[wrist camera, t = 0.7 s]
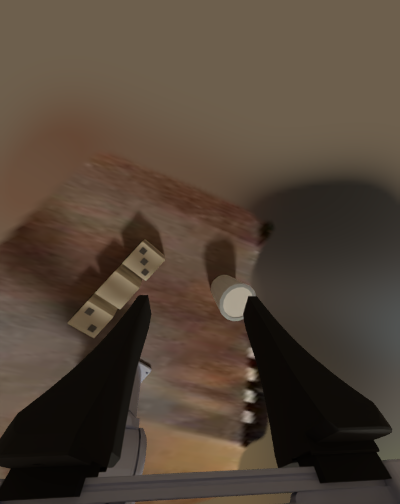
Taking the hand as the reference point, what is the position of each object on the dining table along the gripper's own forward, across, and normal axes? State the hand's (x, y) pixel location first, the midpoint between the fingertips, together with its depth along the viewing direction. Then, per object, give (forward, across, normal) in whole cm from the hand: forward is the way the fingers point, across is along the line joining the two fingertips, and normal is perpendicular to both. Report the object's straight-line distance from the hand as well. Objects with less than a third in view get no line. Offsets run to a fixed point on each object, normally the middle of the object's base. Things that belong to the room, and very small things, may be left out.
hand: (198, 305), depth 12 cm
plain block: (+15, +13, +11) cm, 22 cm away
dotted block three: (+17, +9, +7) cm, 20 cm away
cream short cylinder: (+17, -6, +15) cm, 23 cm away
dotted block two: (+12, +17, +15) cm, 25 cm away
